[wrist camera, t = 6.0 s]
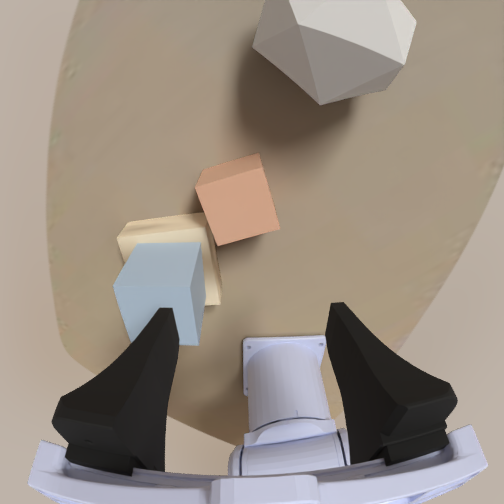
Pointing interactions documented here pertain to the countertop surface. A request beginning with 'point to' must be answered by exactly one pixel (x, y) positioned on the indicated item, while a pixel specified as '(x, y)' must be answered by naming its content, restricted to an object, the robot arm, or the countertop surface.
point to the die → (336, 44)
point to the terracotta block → (237, 199)
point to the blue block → (163, 287)
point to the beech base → (177, 232)
